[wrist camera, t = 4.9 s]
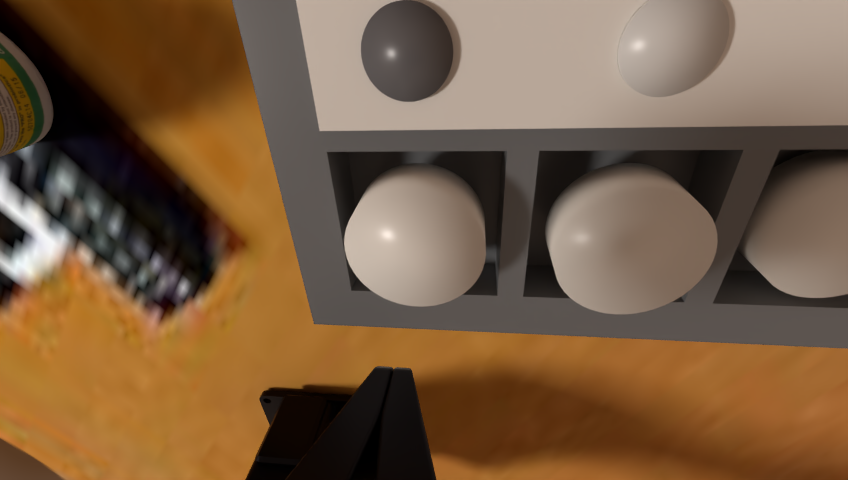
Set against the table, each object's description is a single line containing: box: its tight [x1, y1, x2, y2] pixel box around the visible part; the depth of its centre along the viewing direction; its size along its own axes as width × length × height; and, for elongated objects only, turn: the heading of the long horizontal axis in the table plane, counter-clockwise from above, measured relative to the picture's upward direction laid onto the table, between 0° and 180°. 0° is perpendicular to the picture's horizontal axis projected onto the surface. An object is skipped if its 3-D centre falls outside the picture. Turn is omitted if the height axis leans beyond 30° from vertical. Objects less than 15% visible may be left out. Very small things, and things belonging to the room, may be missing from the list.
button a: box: [737, 149, 848, 298], centre depth 14 cm, size 5×5×2 cm
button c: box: [344, 163, 486, 307], centre depth 14 cm, size 5×5×2 cm
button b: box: [545, 163, 718, 314], centre depth 14 cm, size 5×5×2 cm
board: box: [232, 0, 848, 348], centre depth 14 cm, size 14×24×4 cm, turn 92°
